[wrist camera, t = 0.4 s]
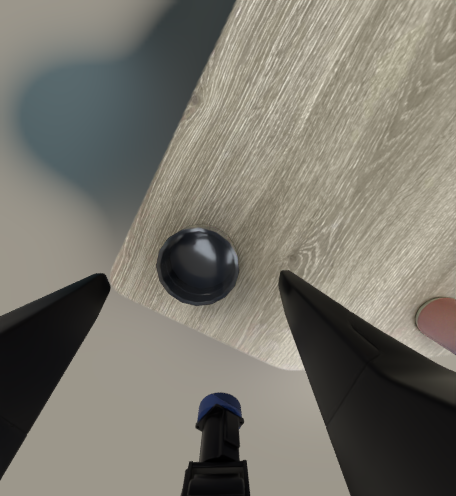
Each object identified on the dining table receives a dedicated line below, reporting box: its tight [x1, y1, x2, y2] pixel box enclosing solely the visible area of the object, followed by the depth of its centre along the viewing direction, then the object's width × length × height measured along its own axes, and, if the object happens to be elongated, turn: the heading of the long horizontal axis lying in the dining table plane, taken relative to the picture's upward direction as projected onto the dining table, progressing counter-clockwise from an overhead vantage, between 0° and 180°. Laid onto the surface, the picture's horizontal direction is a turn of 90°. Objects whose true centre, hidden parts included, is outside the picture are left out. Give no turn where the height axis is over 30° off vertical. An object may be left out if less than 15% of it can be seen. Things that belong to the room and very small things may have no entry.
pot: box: [156, 224, 239, 306], centre depth 20 cm, size 8×8×4 cm
